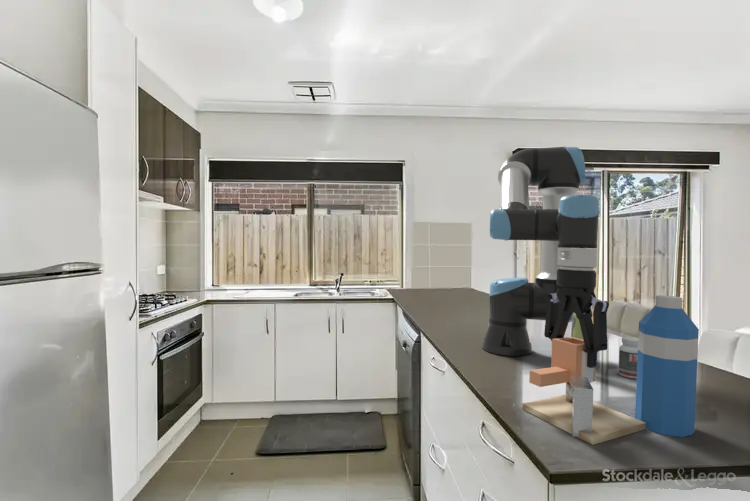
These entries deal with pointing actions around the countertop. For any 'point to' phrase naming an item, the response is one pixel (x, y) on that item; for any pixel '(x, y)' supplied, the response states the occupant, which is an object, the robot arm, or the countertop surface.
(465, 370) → the countertop surface
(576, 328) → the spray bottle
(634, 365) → the pill bottle
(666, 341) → the water bottle
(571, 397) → the pintle
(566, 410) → the board
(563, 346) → the link
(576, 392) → the block
